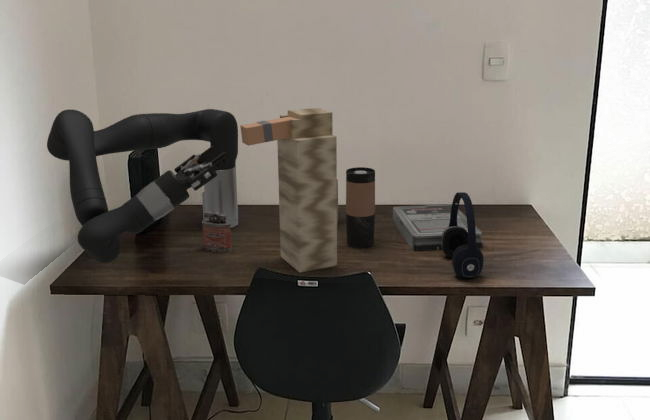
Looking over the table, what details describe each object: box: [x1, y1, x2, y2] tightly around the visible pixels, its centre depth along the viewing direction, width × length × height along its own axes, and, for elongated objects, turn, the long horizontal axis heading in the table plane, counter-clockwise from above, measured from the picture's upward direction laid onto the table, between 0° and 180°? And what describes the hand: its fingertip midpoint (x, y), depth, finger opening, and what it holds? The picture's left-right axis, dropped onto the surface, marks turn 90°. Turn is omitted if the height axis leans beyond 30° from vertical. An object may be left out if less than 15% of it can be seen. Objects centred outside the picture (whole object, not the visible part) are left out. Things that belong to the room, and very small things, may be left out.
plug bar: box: [240, 116, 298, 146], centre depth 162 cm, size 14×4×4 cm, turn 116°
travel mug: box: [345, 166, 376, 249], centre depth 184 cm, size 8×8×20 cm
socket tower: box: [276, 107, 338, 273], centre depth 170 cm, size 10×12×37 cm
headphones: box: [441, 191, 484, 280], centre depth 168 cm, size 20×7×18 cm, turn 2°
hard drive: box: [392, 203, 483, 252], centre depth 195 cm, size 18×27×4 cm
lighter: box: [201, 212, 233, 253], centre depth 183 cm, size 8×3×10 cm, turn 71°
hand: (221, 152), depth 158 cm, fingers open, 8 cm apart
